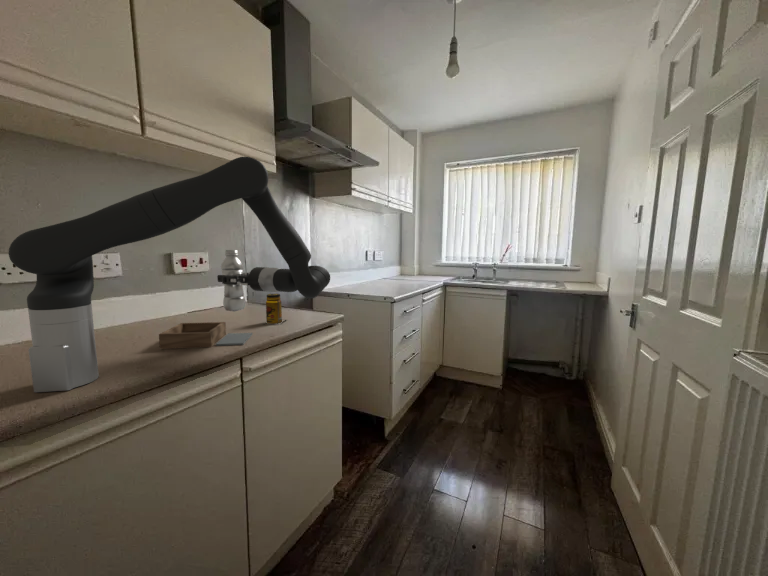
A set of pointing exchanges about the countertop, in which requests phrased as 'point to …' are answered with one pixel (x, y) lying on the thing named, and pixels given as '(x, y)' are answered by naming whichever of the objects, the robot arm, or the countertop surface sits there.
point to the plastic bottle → (232, 293)
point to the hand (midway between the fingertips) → (227, 277)
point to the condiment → (273, 309)
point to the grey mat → (234, 339)
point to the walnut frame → (192, 335)
